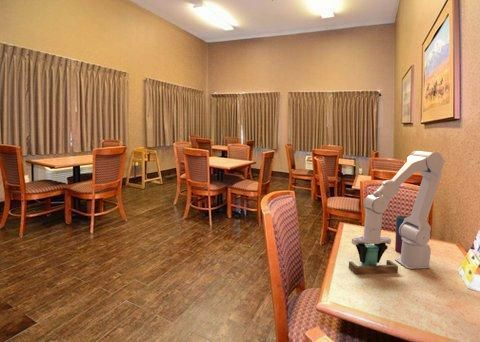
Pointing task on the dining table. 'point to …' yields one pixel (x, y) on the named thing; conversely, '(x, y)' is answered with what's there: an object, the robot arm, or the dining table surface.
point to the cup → (398, 237)
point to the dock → (374, 268)
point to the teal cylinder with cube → (371, 255)
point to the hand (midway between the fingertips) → (369, 262)
